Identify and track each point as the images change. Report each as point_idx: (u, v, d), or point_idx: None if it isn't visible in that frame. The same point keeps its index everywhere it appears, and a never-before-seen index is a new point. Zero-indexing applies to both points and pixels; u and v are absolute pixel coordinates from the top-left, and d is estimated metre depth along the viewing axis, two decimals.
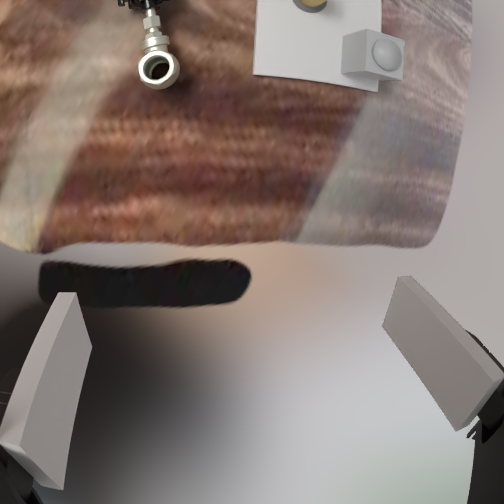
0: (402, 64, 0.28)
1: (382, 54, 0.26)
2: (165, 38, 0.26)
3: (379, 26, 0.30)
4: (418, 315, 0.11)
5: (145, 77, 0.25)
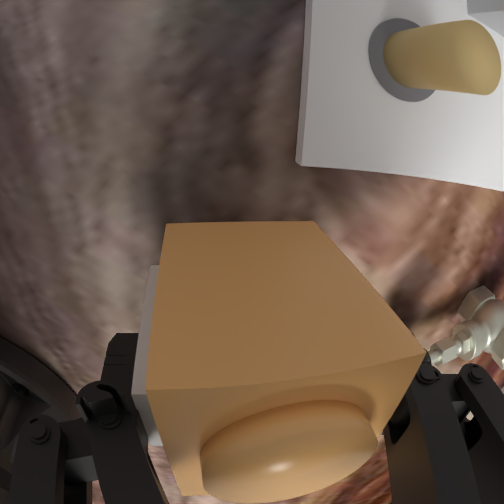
0: None
1: None
2: (477, 336, 0.18)
3: None
4: None
5: None
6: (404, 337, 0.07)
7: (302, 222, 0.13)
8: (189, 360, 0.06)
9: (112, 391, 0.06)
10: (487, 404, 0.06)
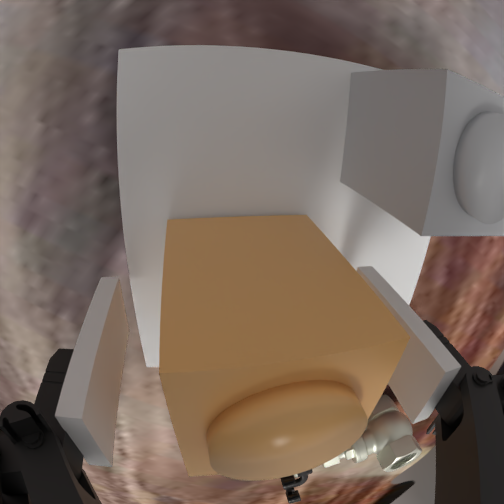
0: None
1: (499, 195, 0.08)
2: (359, 449, 0.21)
3: (287, 57, 0.11)
4: None
5: (408, 462, 0.20)
6: (390, 323, 0.08)
7: (295, 216, 0.14)
8: (197, 346, 0.07)
9: (31, 410, 0.05)
10: None
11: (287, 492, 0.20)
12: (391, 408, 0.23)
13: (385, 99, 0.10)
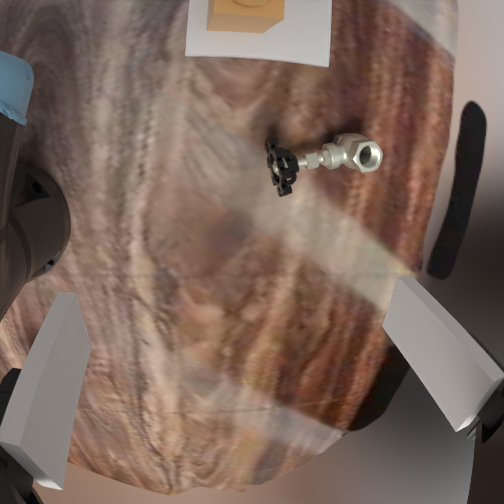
0: None
1: None
2: (331, 147, 0.33)
3: None
4: (418, 315, 0.11)
5: (375, 165, 0.32)
6: None
7: None
8: None
9: None
10: None
11: (279, 169, 0.31)
12: None
13: None
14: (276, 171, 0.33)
